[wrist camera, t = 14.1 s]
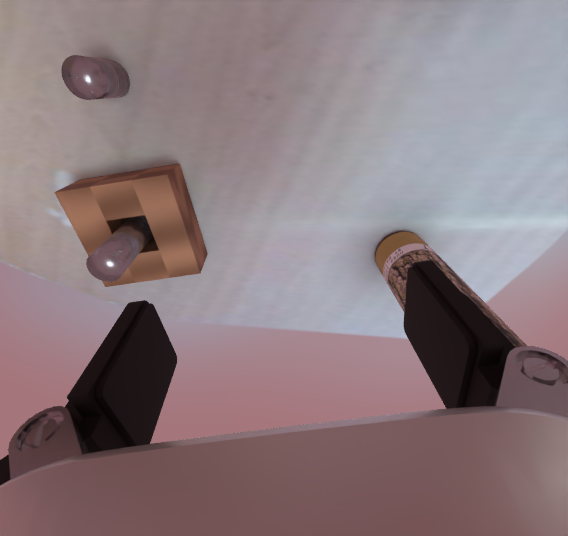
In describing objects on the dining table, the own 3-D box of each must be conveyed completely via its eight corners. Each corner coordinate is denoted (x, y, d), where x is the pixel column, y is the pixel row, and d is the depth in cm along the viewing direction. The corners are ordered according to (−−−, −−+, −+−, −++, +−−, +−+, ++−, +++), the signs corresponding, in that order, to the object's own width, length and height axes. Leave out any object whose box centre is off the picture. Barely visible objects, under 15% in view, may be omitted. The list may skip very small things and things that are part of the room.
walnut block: (80, 179, 36) (54, 192, 32) (179, 163, 36) (167, 174, 31) (122, 266, 42) (105, 286, 38) (207, 253, 42) (200, 273, 37)
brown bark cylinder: (381, 279, 45) (483, 457, 24) (367, 242, 42) (469, 409, 20) (427, 260, 44) (579, 431, 22) (416, 221, 40) (580, 375, 19)
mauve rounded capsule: (90, 63, 30) (54, 58, 25) (121, 57, 30) (91, 52, 25) (105, 99, 32) (73, 102, 27) (134, 94, 32) (108, 96, 27)
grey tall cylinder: (131, 209, 38) (80, 254, 28) (156, 205, 38) (114, 249, 28) (141, 232, 40) (95, 283, 29) (165, 228, 40) (128, 279, 29)
